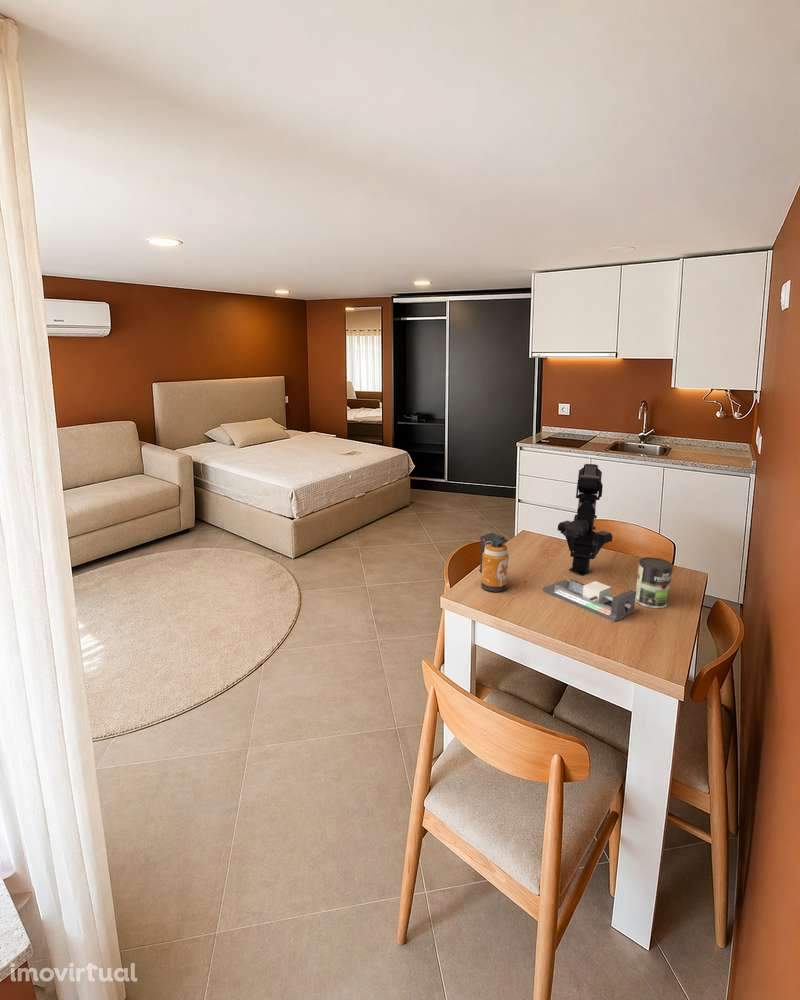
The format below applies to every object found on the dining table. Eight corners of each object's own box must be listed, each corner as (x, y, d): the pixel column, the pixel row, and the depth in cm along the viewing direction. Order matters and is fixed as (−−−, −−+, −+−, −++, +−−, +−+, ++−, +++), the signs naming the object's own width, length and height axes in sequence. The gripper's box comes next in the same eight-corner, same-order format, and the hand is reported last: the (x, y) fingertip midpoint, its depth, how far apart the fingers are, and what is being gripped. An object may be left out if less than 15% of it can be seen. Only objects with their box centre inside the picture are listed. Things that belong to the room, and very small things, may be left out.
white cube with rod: (593, 594, 186) (595, 581, 184) (634, 610, 174) (636, 596, 173) (576, 601, 180) (578, 587, 179) (617, 619, 169) (619, 604, 167)
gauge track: (563, 582, 199) (565, 564, 197) (635, 611, 177) (637, 591, 175) (542, 590, 192) (543, 571, 190) (614, 621, 170) (616, 600, 168)
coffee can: (674, 606, 181) (680, 566, 177) (648, 610, 178) (653, 570, 174) (652, 593, 190) (658, 555, 186) (627, 596, 188) (632, 558, 184)
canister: (495, 595, 188) (498, 540, 183) (471, 585, 196) (473, 532, 191) (511, 588, 194) (515, 535, 188) (488, 578, 202) (490, 527, 196)
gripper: (549, 510, 191) (546, 551, 195) (595, 523, 177) (591, 568, 181) (569, 505, 198) (565, 545, 202) (615, 517, 183) (610, 560, 187)
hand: (582, 554), depth 193 cm, fingers open, 9 cm apart
